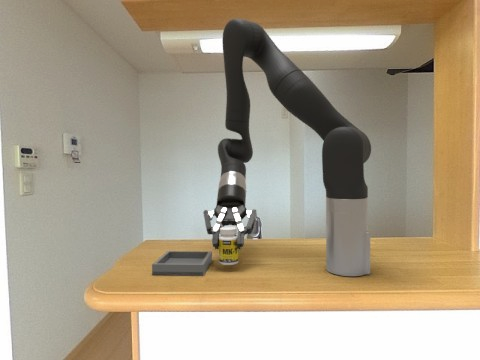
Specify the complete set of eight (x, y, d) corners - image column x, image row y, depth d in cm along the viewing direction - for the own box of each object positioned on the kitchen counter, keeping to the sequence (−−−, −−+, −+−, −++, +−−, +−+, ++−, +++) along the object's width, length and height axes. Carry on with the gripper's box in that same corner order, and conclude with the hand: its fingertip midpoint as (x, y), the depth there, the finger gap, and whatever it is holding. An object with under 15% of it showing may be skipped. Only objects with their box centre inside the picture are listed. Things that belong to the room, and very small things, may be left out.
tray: (212, 260, 89) (212, 251, 89) (203, 275, 77) (203, 264, 77) (167, 260, 90) (167, 250, 90) (152, 275, 78) (151, 264, 78)
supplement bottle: (221, 266, 78) (220, 230, 78) (217, 260, 83) (216, 227, 83) (241, 264, 80) (240, 228, 79) (236, 258, 84) (235, 225, 84)
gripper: (203, 183, 88) (194, 239, 77) (257, 182, 87) (257, 238, 76) (207, 201, 94) (200, 255, 83) (259, 200, 93) (258, 255, 81)
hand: (227, 247), depth 79 cm, fingers closed on supplement bottle, 4 cm apart
